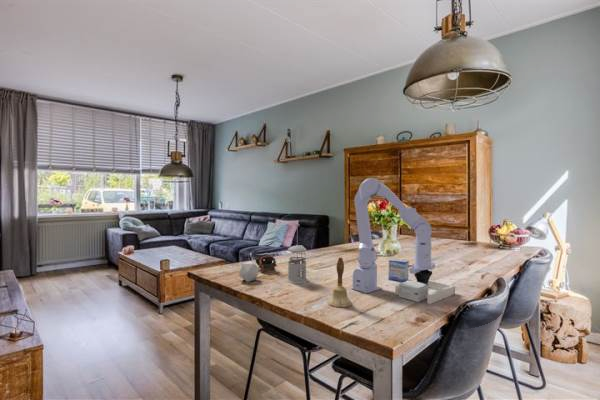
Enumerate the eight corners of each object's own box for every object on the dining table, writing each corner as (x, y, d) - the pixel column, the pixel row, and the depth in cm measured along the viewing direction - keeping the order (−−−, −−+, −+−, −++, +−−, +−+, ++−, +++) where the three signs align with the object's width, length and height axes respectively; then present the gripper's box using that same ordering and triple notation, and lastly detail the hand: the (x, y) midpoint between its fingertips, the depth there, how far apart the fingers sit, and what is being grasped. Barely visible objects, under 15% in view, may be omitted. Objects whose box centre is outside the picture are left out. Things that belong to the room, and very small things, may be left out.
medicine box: (388, 279, 144) (388, 260, 144) (390, 277, 148) (390, 258, 148) (406, 282, 140) (407, 262, 140) (408, 279, 144) (408, 260, 144)
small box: (398, 297, 121) (398, 283, 120) (409, 292, 126) (409, 279, 126) (417, 302, 115) (418, 288, 114) (428, 297, 120) (429, 284, 120)
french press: (281, 282, 140) (281, 223, 139) (294, 275, 151) (294, 221, 150) (302, 284, 136) (302, 224, 135) (313, 278, 146) (313, 222, 146)
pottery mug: (280, 270, 163) (280, 257, 159) (270, 282, 156) (269, 269, 152) (260, 261, 168) (259, 249, 163) (249, 273, 161) (248, 260, 156)
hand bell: (331, 298, 119) (332, 254, 119) (354, 301, 116) (354, 256, 116) (324, 305, 112) (324, 259, 111) (348, 309, 109) (348, 261, 108)
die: (261, 283, 141) (263, 262, 146) (247, 276, 135) (250, 255, 140) (247, 287, 145) (250, 266, 150) (233, 281, 139) (236, 260, 144)
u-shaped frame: (429, 303, 113) (430, 295, 113) (395, 293, 124) (395, 286, 124) (454, 293, 125) (455, 285, 125) (421, 285, 136) (421, 278, 136)
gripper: (422, 258, 115) (421, 296, 116) (442, 253, 124) (442, 288, 125) (404, 255, 121) (404, 291, 121) (425, 250, 130) (425, 284, 130)
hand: (422, 289), depth 123 cm, fingers closed
